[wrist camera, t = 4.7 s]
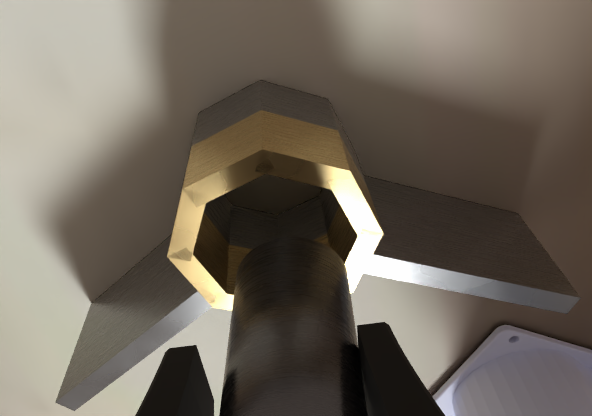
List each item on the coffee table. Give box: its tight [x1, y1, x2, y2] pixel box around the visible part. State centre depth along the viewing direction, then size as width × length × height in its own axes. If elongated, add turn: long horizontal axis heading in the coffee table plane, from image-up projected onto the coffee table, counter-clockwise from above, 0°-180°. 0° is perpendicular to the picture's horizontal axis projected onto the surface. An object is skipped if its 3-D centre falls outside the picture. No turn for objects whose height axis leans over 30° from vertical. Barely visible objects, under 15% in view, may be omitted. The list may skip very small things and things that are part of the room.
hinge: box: [56, 80, 580, 411], centre depth 19 cm, size 16×13×5 cm
